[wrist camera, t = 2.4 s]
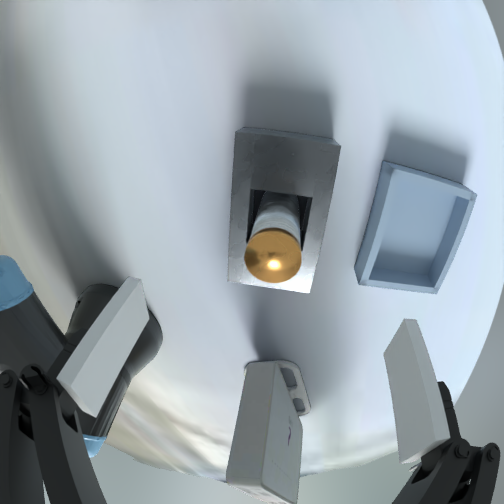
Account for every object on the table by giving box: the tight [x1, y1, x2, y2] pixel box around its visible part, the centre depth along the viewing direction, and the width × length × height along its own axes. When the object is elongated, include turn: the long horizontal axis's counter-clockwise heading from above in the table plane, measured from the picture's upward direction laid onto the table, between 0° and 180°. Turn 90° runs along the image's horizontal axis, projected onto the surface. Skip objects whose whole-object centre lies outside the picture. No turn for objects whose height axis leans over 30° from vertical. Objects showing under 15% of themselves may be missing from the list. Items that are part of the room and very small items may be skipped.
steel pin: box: [244, 191, 302, 283], centre depth 22 cm, size 4×4×10 cm
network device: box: [226, 360, 311, 504], centre depth 35 cm, size 26×9×20 cm, turn 17°
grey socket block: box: [227, 127, 341, 293], centre depth 25 cm, size 14×8×4 cm, turn 176°
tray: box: [354, 161, 477, 294], centre depth 24 cm, size 12×10×3 cm
